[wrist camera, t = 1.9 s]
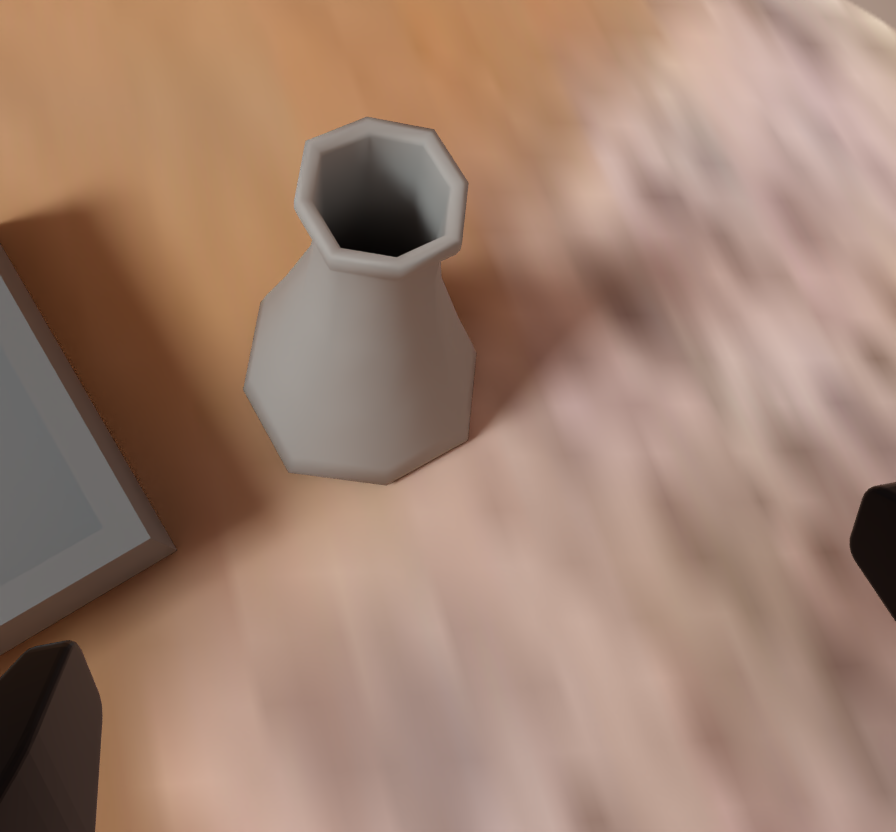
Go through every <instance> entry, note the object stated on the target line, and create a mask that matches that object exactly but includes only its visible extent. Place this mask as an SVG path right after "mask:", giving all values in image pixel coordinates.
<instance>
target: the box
mask: <svg viewBox="0 0 896 832" xmlns="http://www.w3.org/2000/svg"><path fill="white" fill-rule="evenodd" d="M175 551H177V549H176V547H175V546H174V544H173V542H172V540H171V539H170V537H169V535H168V533H167V532H166V530H165V528H164V527H163V525H162V523H161V521H160V520H159V518H158V516H157V514H156V513H155V511H154V509H153V507H152V506H151V504H150V502H149V501H148V499H147V497H146V495H145V494H144V492H143V490H142V488H141V487H140V485H139V483H138V481H137V480H136V478H135V476H134V475H133V473H132V471H131V469H130V468H129V466H128V464H127V462H126V461H125V459H124V457H123V455H122V454H121V452H120V450H119V449H118V447H117V445H116V443H115V442H114V440H113V438H112V436H111V435H110V433H109V431H108V429H107V428H106V426H105V424H104V423H103V421H102V419H101V417H100V416H99V414H98V412H97V410H96V409H95V407H94V405H93V403H92V402H91V400H90V398H89V397H88V395H87V393H86V391H85V390H84V388H83V386H82V384H81V383H80V381H79V379H78V377H77V376H76V374H75V372H74V371H73V369H72V367H71V365H70V364H69V362H68V360H67V358H66V357H65V355H64V353H63V351H62V350H61V348H60V346H59V345H58V343H57V341H56V339H55V338H54V336H53V334H52V332H51V331H50V329H49V327H48V325H47V324H46V322H45V320H44V319H43V317H42V315H41V313H40V312H39V310H38V308H37V306H36V305H35V303H34V301H33V299H32V298H31V296H30V294H29V293H28V291H27V289H26V287H25V286H24V284H23V282H22V280H21V279H20V277H19V275H18V273H17V272H16V270H15V268H14V267H13V265H12V263H11V261H10V260H9V258H8V256H7V254H6V253H5V251H4V249H3V247H2V246H1V244H0V655H2V654H3V653H5V652H7V651H8V650H10V649H12V648H13V647H15V646H17V645H18V644H20V643H22V642H24V641H25V640H27V639H29V638H30V637H32V636H34V635H35V634H37V633H39V632H40V631H42V630H44V629H45V628H47V627H49V626H50V625H52V624H54V623H55V622H57V621H59V620H61V619H62V618H64V617H66V616H67V615H69V614H71V613H72V612H74V611H76V610H77V609H79V608H81V607H82V606H84V605H86V604H87V603H89V602H91V601H93V600H94V599H96V598H98V597H99V596H101V595H103V594H104V593H106V592H108V591H109V590H111V589H113V588H114V587H116V586H118V585H119V584H121V583H123V582H125V581H126V580H128V579H130V578H131V577H133V576H135V575H136V574H138V573H140V572H141V571H143V570H145V569H146V568H148V567H150V566H151V565H153V564H155V563H157V562H158V561H160V560H162V559H163V558H165V557H167V556H168V555H170V554H172V553H173V552H175Z"/></svg>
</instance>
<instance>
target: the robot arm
mask: <svg viewBox="0 0 896 832" xmlns="http://www.w3.org/2000/svg"><path fill="white" fill-rule="evenodd" d="M850 550H851V553H852V556H853V558H854V560H855V562H856V563H857V565H858V566H859V568H860V569H861V571H862V572H863V574H864V575H865V577H866V578H867V580H868V581H869V582H870V584H871V585H872V587H873V588H874V590H875V591H876V593H877V594H878V596H879V597H880V599H881V600H882V602H883V603H884V605H885V606H886V608H887V609H888V611H889V612H890V614H891V615H892V617H893V618H894V620H895V621H896V482H894V483H888V484H883V485H878V486H874V487H871V488H869V489H868V490H867V491H866V492H865V494H864V496H863V498H862V501H861V504H860V507H859V511H858V514H857V517H856V520H855V523H854V526H853V530H852V533H851V536H850ZM101 733H102V704H101V699H100V695H99V692H98V689H97V687H96V684H95V682H94V680H93V677H92V675H91V672H90V670H89V667H88V665H87V662H86V660H85V657H84V655H83V652H82V650H81V648H80V647H79V645H78V644H77V643H76V642H74V641H70V640H66V641H61V642H56V643H50V644H45V645H40V646H35V647H33V648H30V649H28V650H27V651H26V652H24V653H23V654H22V655H21V656H20V657H19V658H18V659H17V661H16V662H15V663H14V664H13V665H12V666H11V667H10V668H9V669H8V670H7V671H6V672H5V673H4V675H3V676H2V677H1V678H0V832H95V824H96V809H97V794H98V778H99V763H100V748H101Z"/></svg>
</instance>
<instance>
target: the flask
mask: <svg viewBox="0 0 896 832" xmlns="http://www.w3.org/2000/svg"><path fill="white" fill-rule="evenodd" d="M467 192H468V181H467V180H466V178H465V177H464V175H463V173H462V172H461V170H460V169H459V167H458V166H457V164H456V163H455V161H454V160H453V158H452V156H451V155H450V153H449V152H448V150H447V149H446V147H445V146H444V144H443V142H442V141H441V139H440V138H439V136H438V135H437V133H436V132H435V130H434V129H429V128H424V127H419V126H413V125H408V124H403V123H398V122H392V121H387V120H382V119H376V118H371V117H365V118H362V119H360V120H357V121H355V122H352V123H350V124H347V125H345V126H342V127H340V128H337V129H335V130H332V131H330V132H327V133H325V134H322V135H320V136H317V137H315V138H312V139H310V140H307V141H306V142H305V147H304V152H303V157H302V162H301V168H300V173H299V178H298V183H297V189H296V194H295V199H294V209H295V211H296V213H297V215H298V217H299V218H300V220H301V222H302V223H303V225H304V227H305V229H306V230H307V232H308V234H309V235H310V237H311V239H312V243H311V246H310V247H309V248H308V249H307V251H306V252H305V253H304V254H303V256H302V257H301V258H300V259H299V261H298V262H297V263H296V264H295V266H294V267H293V268H292V269H291V271H290V272H289V273H288V274H287V275H286V277H285V278H283V279H282V280H281V281H280V282H279V283H278V284H277V285H276V286H275V287H274V288H273V289H272V290H271V291H270V292H269V293H268V294H267V295H266V296H265V298H264V299H263V300H262V301H261V303H260V307H259V312H258V317H257V322H256V327H255V333H254V338H253V343H252V348H251V353H250V358H249V363H248V368H247V373H246V378H245V383H244V388H243V390H244V392H245V394H246V396H247V398H248V399H249V401H250V403H251V405H252V407H253V409H254V410H255V412H256V414H257V416H258V418H259V420H260V421H261V423H262V425H263V427H264V429H265V430H266V432H267V434H268V436H269V438H270V440H271V441H272V443H273V445H274V447H275V449H276V451H277V452H278V454H279V456H280V458H281V460H282V461H283V463H284V465H285V467H286V469H287V471H288V472H289V473H296V474H304V475H311V476H319V477H327V478H334V479H342V480H350V481H357V482H365V483H372V484H380V485H388V484H390V483H391V482H393V481H395V480H397V479H399V478H400V477H402V476H404V475H406V474H408V473H409V472H411V471H413V470H415V469H417V468H418V467H420V466H422V465H424V464H426V463H427V462H429V461H431V460H433V459H435V458H436V457H438V456H440V455H442V454H444V453H445V452H447V451H449V450H451V449H453V448H455V447H456V446H458V445H460V444H462V443H464V442H465V441H467V440H468V434H469V424H470V414H471V404H472V394H473V384H474V373H475V363H476V351H475V349H474V346H473V344H472V342H471V340H470V338H469V336H468V335H467V333H466V331H465V329H464V327H463V325H462V323H461V321H460V319H459V318H458V315H457V313H456V311H455V308H454V306H453V303H452V301H451V299H450V296H449V294H448V291H447V289H446V287H445V284H444V282H443V279H442V276H441V261H443V260H445V259H447V258H449V257H451V256H453V255H455V254H457V253H458V252H459V251H460V249H461V245H462V237H463V228H464V219H465V210H466V201H467Z"/></svg>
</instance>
